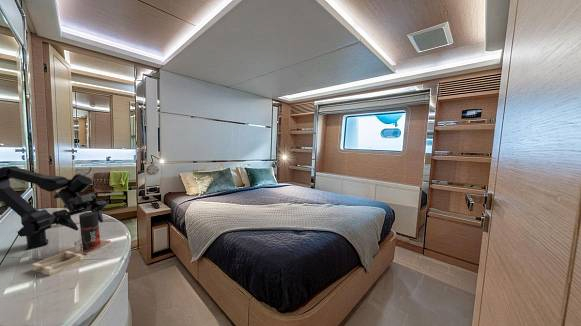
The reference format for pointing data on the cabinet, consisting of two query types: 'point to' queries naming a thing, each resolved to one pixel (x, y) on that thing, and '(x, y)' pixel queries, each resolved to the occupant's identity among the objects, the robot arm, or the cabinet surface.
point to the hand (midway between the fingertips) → (90, 225)
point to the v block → (80, 250)
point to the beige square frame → (45, 269)
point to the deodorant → (89, 230)
